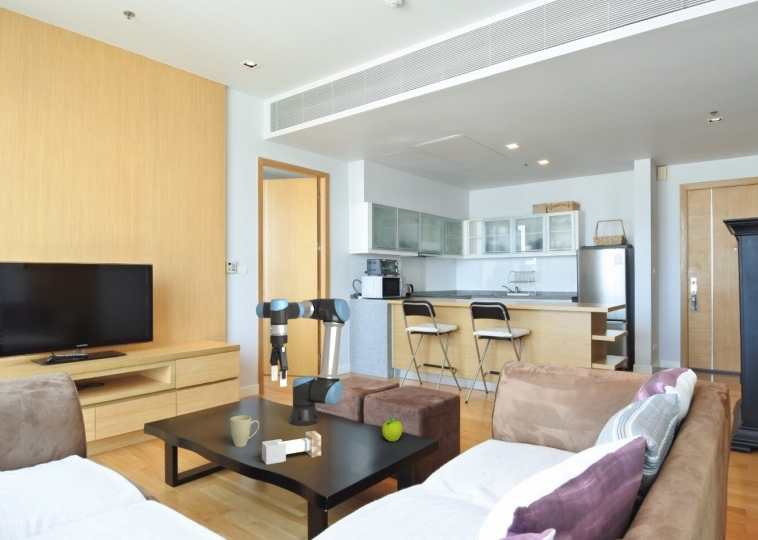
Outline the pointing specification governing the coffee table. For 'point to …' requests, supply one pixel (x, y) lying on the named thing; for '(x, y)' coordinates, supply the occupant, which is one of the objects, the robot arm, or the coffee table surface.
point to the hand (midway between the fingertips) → (278, 383)
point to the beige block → (314, 443)
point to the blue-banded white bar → (297, 445)
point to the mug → (241, 429)
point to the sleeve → (273, 451)
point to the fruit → (392, 429)
